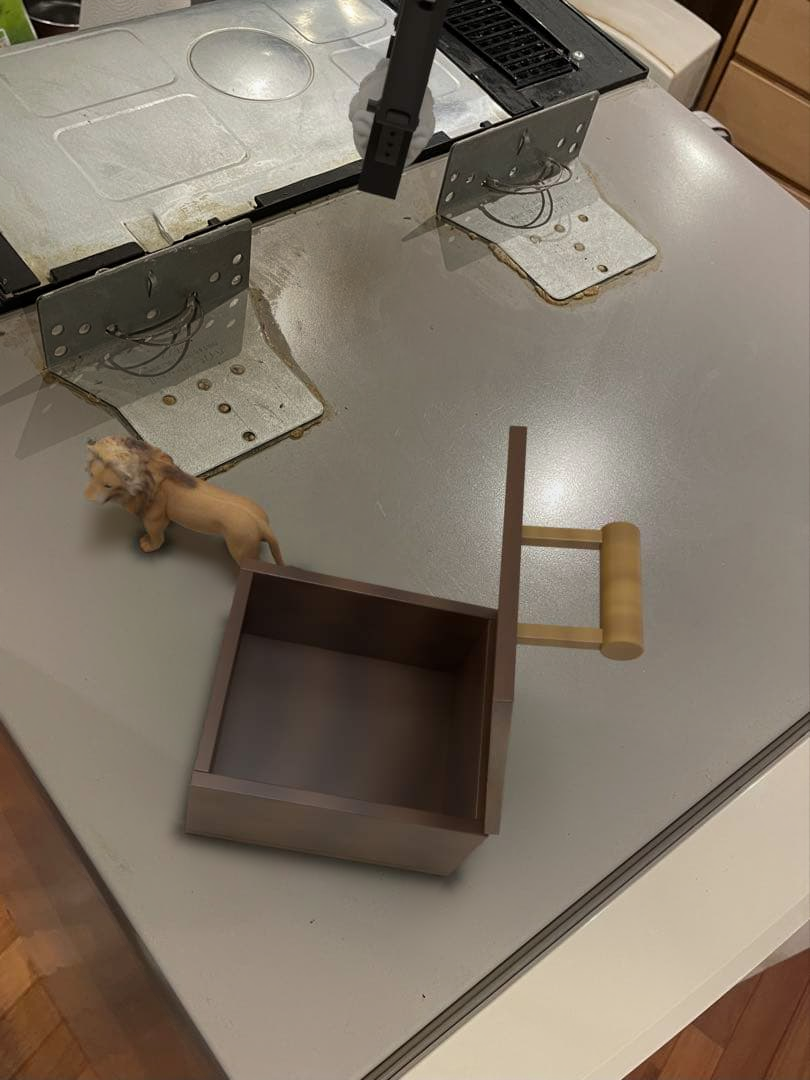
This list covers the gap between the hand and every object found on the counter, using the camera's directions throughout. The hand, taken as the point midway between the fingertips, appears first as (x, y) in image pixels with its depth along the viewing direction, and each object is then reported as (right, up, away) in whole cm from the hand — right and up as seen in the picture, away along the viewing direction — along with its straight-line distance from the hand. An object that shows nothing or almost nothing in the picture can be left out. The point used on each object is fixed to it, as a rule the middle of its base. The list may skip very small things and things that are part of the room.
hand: (383, 157), depth 71 cm
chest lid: (+6, -32, -23) cm, 40 cm away
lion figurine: (-13, -28, -4) cm, 31 cm away
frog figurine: (0, 0, 0) cm, 1 cm away
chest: (-3, -40, -9) cm, 41 cm away
